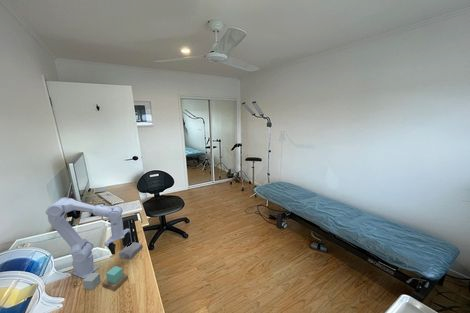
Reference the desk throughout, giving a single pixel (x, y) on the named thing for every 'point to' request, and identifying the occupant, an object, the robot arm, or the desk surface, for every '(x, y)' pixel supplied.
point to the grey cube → (91, 281)
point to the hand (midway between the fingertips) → (119, 249)
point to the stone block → (130, 250)
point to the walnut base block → (116, 285)
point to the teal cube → (114, 274)
